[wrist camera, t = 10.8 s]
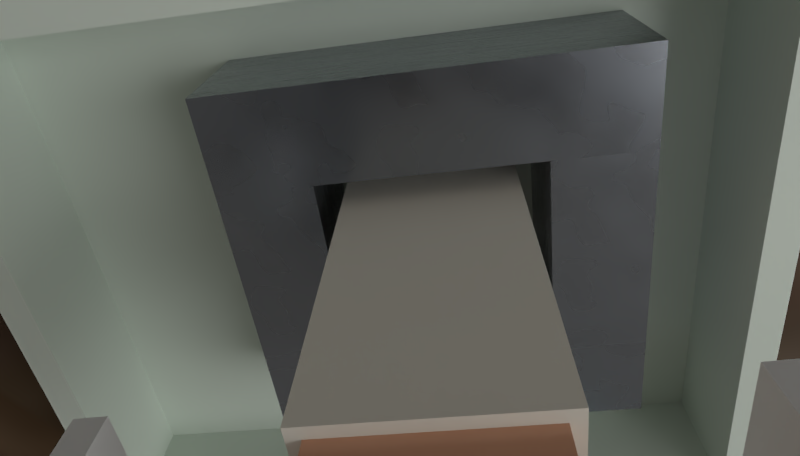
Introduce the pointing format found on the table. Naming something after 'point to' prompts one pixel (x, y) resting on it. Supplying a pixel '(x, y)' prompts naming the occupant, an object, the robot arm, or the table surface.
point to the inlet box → (206, 236)
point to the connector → (436, 329)
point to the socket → (451, 165)
